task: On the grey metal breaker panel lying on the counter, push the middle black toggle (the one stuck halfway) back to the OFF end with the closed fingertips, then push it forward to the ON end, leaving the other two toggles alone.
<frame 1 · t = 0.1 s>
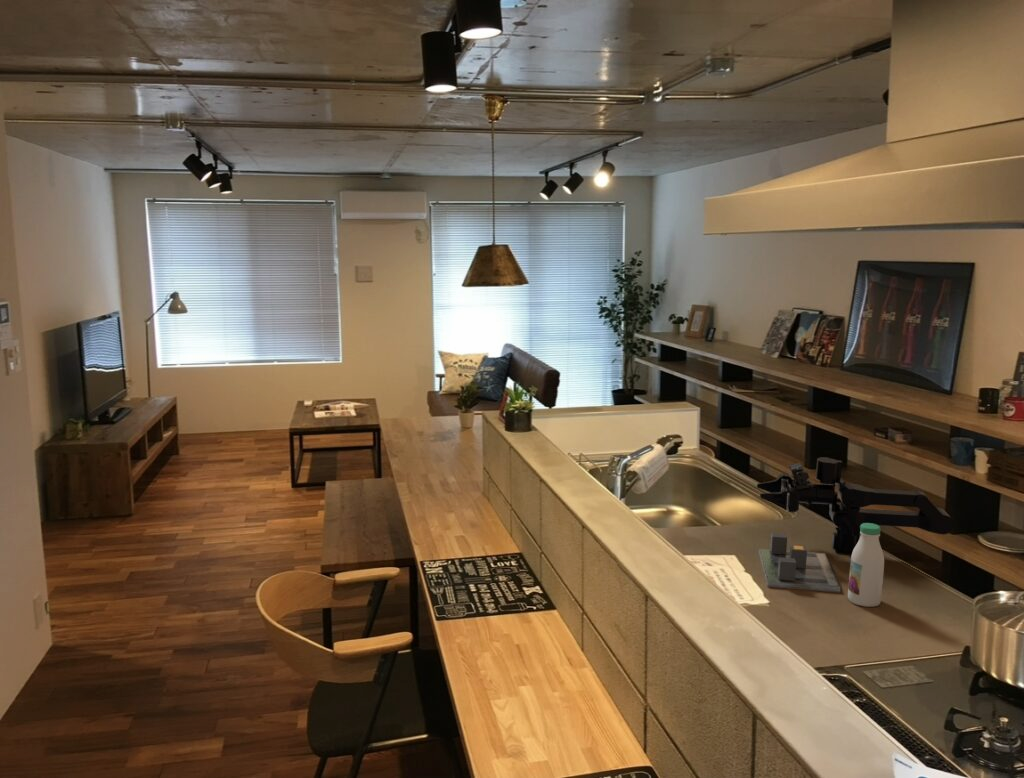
hand: (758, 490, 245), 17 cm above the table, tool horizontal, fingers open, 9 cm apart
milk bottle: (863, 601, 211), on the table
breaker 1: (778, 543, 238), point 4 cm above the table, slide at 8.0 cm
panel: (797, 571, 229), on the table
breaker mid: (797, 556, 229), point 4 cm above the table, slide at 4.0 cm
breaker 2: (786, 568, 221), point 4 cm above the table, slide at 8.0 cm
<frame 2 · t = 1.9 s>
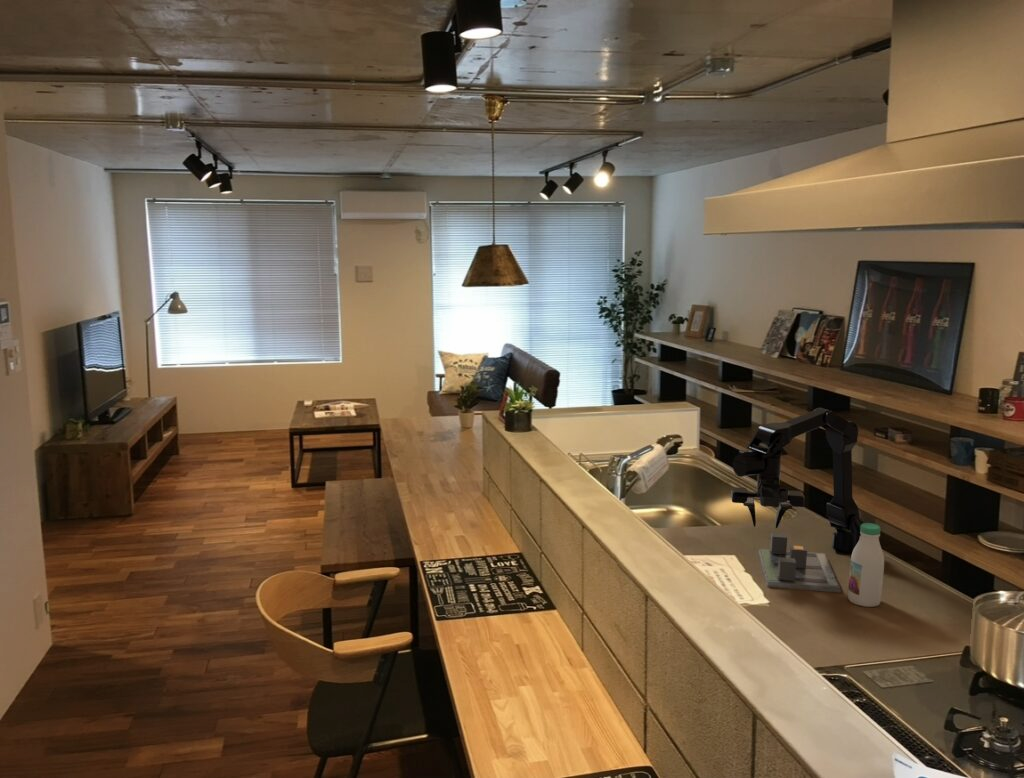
hand: (765, 527, 229), 12 cm above the table, tool pointing down, fingers open, 5 cm apart
nothing on the table moved.
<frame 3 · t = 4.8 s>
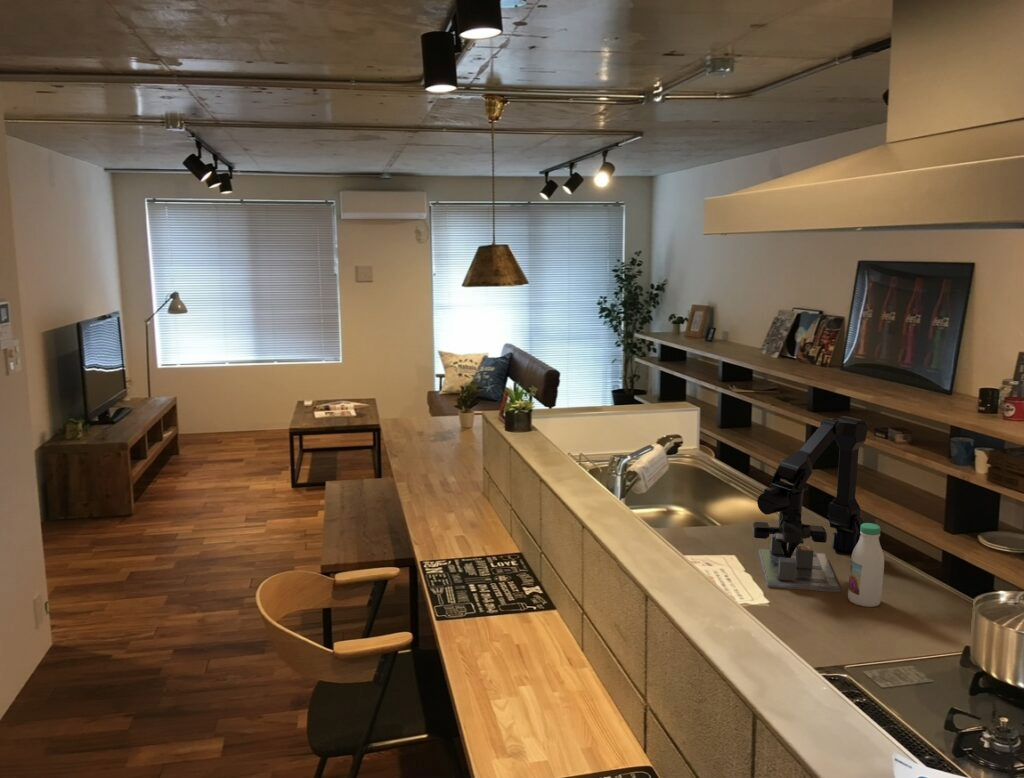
hand: (787, 561, 230), 2 cm above the table, tool pointing down, fingers closed
breaker mid: (804, 557, 228), point 4 cm above the table, slide at 2.3 cm, touching gripper
everything else where it was.
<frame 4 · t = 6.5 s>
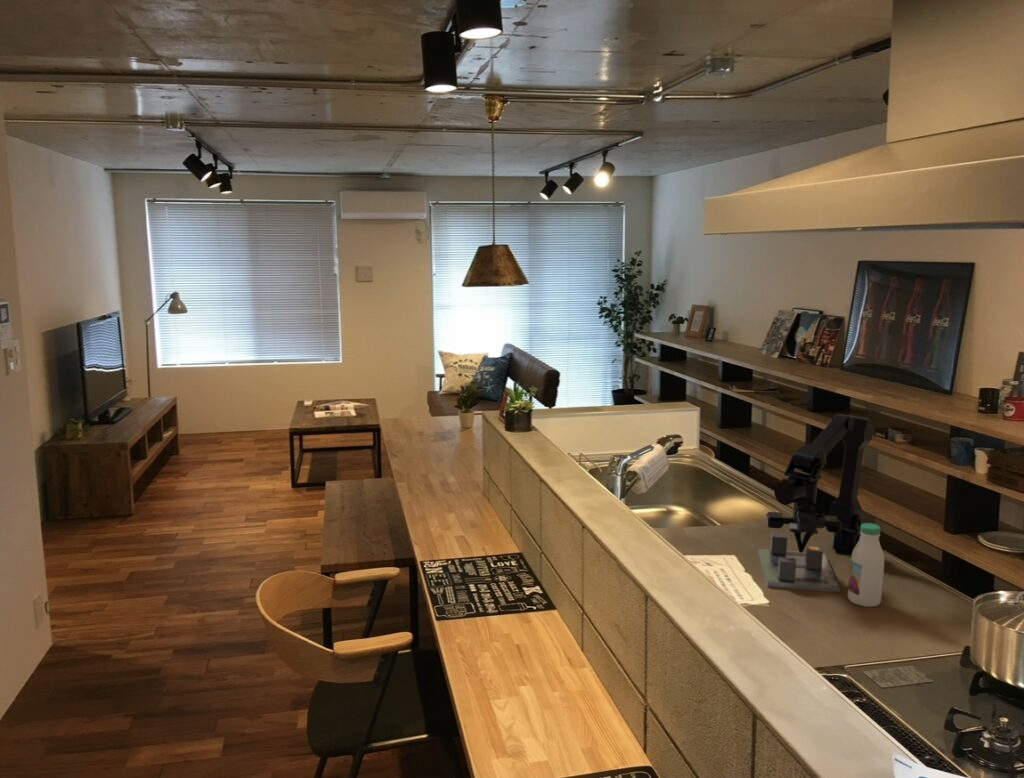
hand: (800, 551, 228), 6 cm above the table, tool pointing down, fingers closed
breaker mid: (813, 557, 228), point 4 cm above the table, slide at 0.0 cm
everything else where it was.
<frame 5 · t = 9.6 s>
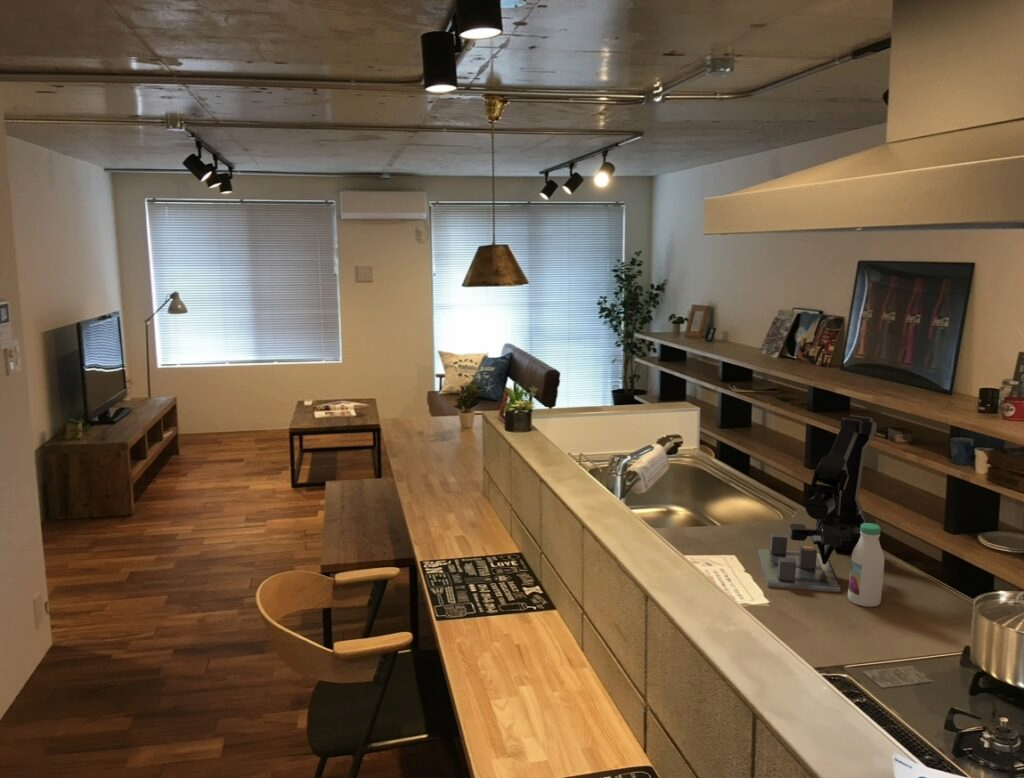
hand: (824, 563, 228), 3 cm above the table, tool pointing down, fingers closed
breaker mid: (807, 557, 228), point 4 cm above the table, slide at 1.5 cm, touching gripper
everything else where it was.
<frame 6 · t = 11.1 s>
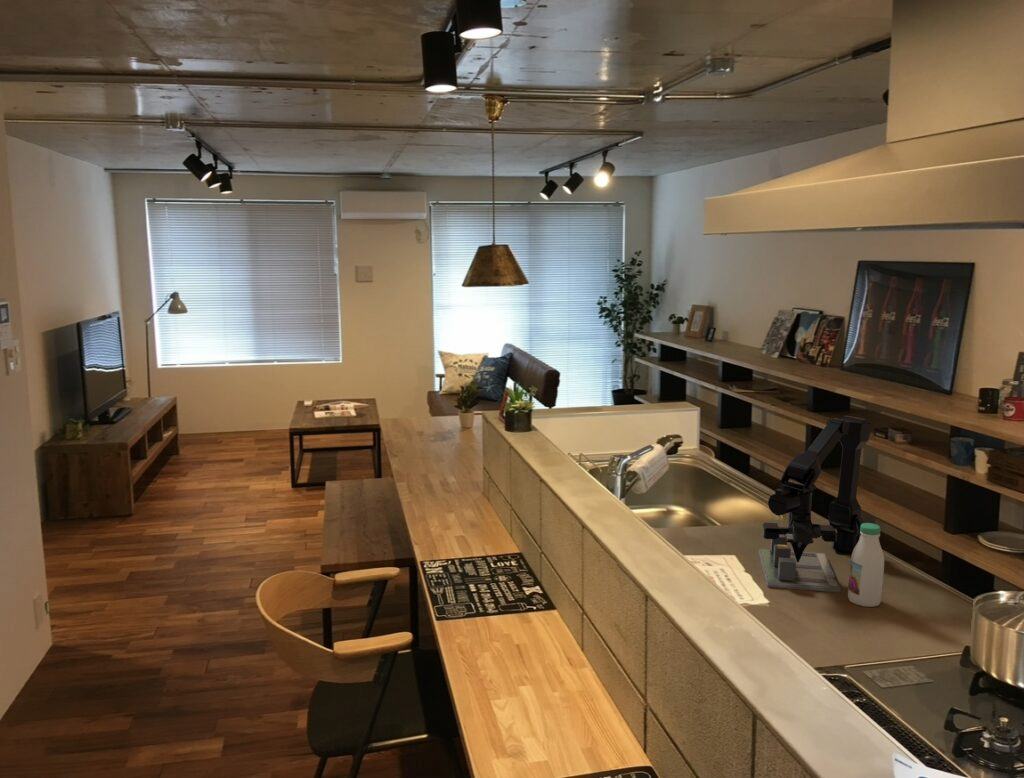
hand: (797, 561, 229), 3 cm above the table, tool pointing down, fingers closed
breaker mid: (781, 555, 229), point 4 cm above the table, slide at 8.2 cm, touching gripper
everything else where it was.
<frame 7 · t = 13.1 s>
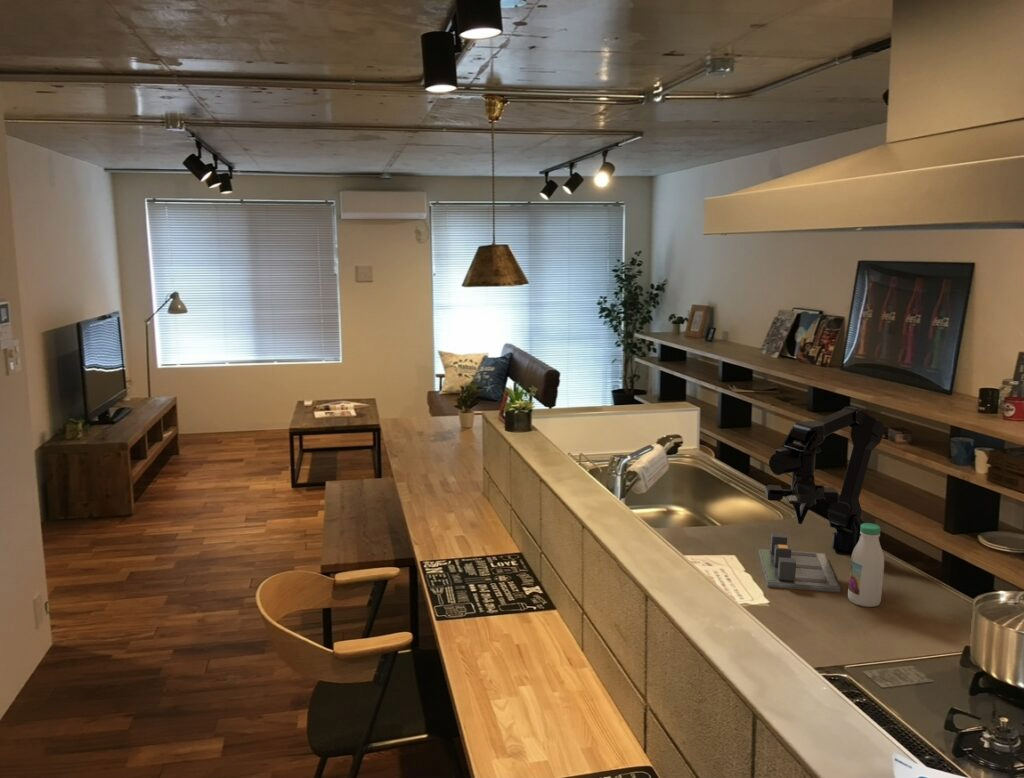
hand: (799, 523, 232), 12 cm above the table, tool pointing down, fingers closed
breaker mid: (782, 555, 229), point 4 cm above the table, slide at 8.0 cm
everything else where it was.
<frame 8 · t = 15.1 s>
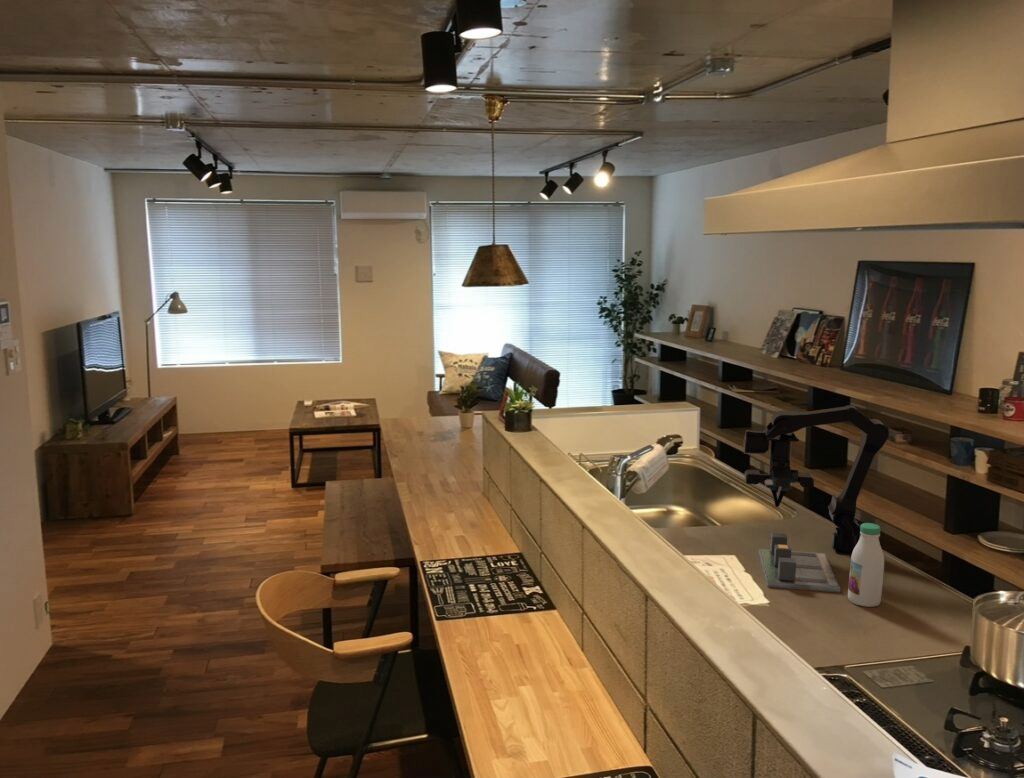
hand: (776, 506, 245), 12 cm above the table, tool pointing down, fingers closed
nothing on the table moved.
at the end: breaker mid slide at 8.0 cm; breaker 1 slide at 8.0 cm; breaker 2 slide at 8.0 cm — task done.
